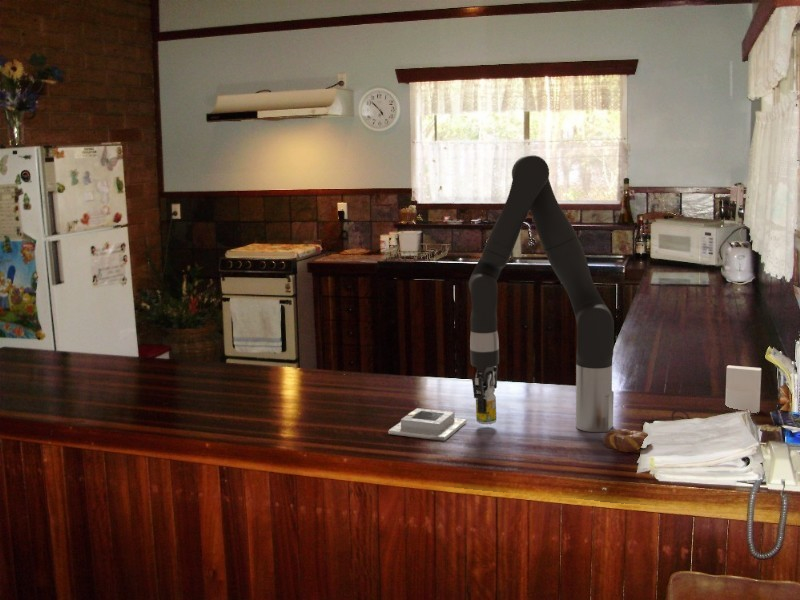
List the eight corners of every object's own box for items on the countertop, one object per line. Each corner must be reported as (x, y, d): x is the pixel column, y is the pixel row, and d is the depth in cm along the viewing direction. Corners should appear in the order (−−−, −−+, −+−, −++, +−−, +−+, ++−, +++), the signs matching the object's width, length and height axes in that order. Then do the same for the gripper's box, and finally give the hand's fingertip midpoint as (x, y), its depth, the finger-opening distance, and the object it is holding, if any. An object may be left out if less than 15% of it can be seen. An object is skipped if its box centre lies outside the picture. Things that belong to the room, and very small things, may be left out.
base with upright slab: (722, 412, 249) (724, 370, 247) (727, 403, 256) (729, 362, 254) (757, 415, 244) (759, 373, 242) (761, 407, 252) (763, 365, 250)
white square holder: (466, 422, 245) (466, 409, 244) (444, 440, 230) (444, 427, 230) (412, 416, 251) (412, 404, 251) (388, 433, 237) (388, 420, 236)
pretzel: (644, 438, 230) (644, 424, 229) (657, 452, 219) (658, 438, 218) (597, 439, 229) (598, 425, 229) (609, 453, 219) (609, 439, 218)
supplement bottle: (499, 420, 241) (498, 385, 239) (491, 425, 236) (490, 390, 235) (481, 417, 243) (480, 383, 242) (473, 423, 239) (472, 388, 237)
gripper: (489, 354, 228) (490, 418, 231) (506, 342, 241) (507, 403, 244) (461, 352, 232) (463, 415, 234) (480, 341, 244) (481, 400, 247)
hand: (486, 409), depth 239 cm, fingers closed on supplement bottle, 5 cm apart
